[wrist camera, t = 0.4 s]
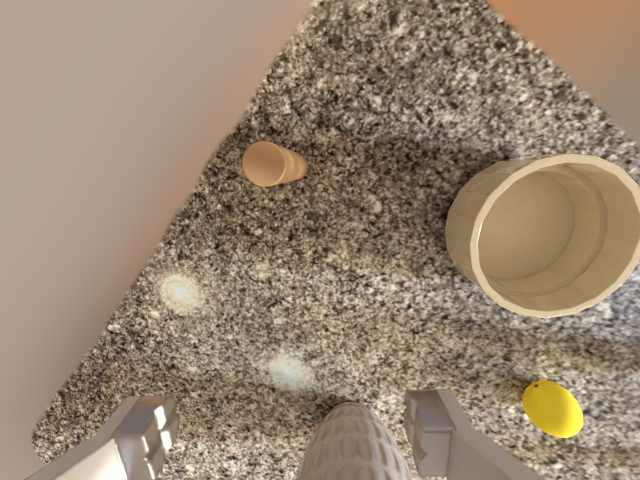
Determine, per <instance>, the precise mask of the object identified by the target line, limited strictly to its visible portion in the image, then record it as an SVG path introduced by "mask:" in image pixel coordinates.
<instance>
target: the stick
mask: <svg viewBox="0 0 640 480" xmlns="http://www.w3.org/2000/svg"><path fill="white" fill-rule="evenodd" d="M242 168H243V171H244V174H245V176H246V177H247V178H248V179H249V180H250V181H251V182H252V183H253V184H255V185H258V186H262V187H268V186H272V185H277V184H281V183H285V182H289V181H294V180H298V179H301V178H303V177H304V176H305V175H306V173H307V171H308V163H307V160H306V159H305V157H304V156H302V155H301V154H298V153H296V152H294V151H291V150H289V149H286V148H284V147H281V146H279V145H276V144H274V143H272V142H269V141H257V142H255V143H253V144H251V145H250V146H249V147H248V148H247V149H246V150H245V152H244V154H243V157H242Z"/></svg>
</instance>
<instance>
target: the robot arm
mask: <svg viewBox="0 0 640 480" xmlns="http://www.w3.org/2000/svg"><path fill="white" fill-rule="evenodd" d="M405 402H406V405H407V407H406V408H405V410H404V422H405V430H406V434H407V438H408V441H409V442H410V443H411V444H412V445H413V458H414V461H415V465H416V468H417V471H418V474H419V476H432V477H447V479H448V480H545V479H543V478H542V477H541V476H539V475H538V474H537V473H535V472H534V471H533V470H531V469H530V468H529V467H527V466H526V465H525V464H523V463H522V462H521V461H519V460H518V459H517V458H515V457H514V456H513V455H511V454H510V453H509V452H507V451H506V450H505V449H503V448H502V447H501V446H499V445H498V444H497V443H495V442H494V441H493V440H491V439H490V438H489V437H487V436H486V435H485V434H483V433H482V432H481V431H476V430H474V429H473V427H472V425H471V423H470V421H469V420H468V418H467V416H466V414H465V412H464V411H463V409H462V407H461V405H460V403H459V402H458V400H457V398H456V396H455V394H454V393H453V391H452V390H451V389H435V390H434V389H429V390H406V392H405ZM175 405H176V404H175V400H174V397H172V396H129V397H127V398H126V399H124V400H123V402H122V403H121V404H120V405H119V407H118V408H117V409H116V410H115V411H114V413H113V414H112V415H111V416H110V418H109V419H108V420H107V421H106V422H105V424H104V425H103V426H102V427H101V429H100V430H99V431H98V432H97V433H96V435H95V436H94V437H93V438H91V439H86V440H85V441H83V442H82V443H80V444H79V445H77V446H76V447H74V448H72V449H71V450H69V451H68V452H66V453H65V454H63V455H62V456H60V457H58V458H57V459H55V460H54V461H52V462H51V463H49V464H48V465H46V466H44V467H43V468H41V469H40V470H38V471H37V472H35V473H34V474H32V475H30V476H29V477H27V478H26V479H24V480H155V479H156V477H157V475H158V473H159V471H160V469H161V467H162V465H163V463H164V462H165V454H164V453H165V452H166V451H167V450H169V449H170V448H171V447H172V446H173V444H174V442H175V440H176V438H177V434H178V430H179V417H178V414H176V413H175V412H174V411H173V409H174V407H175Z"/></svg>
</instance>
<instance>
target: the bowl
mask: <svg viewBox="0 0 640 480" xmlns="http://www.w3.org/2000/svg"><path fill="white" fill-rule="evenodd" d="M445 238H446V246H447V251H448V253H449V255H450V257H451V259H452V261H453V263H454V265H455V267H456V268H457V269H458V270H459V271H460V272H461V273H462V274H463V275H464V276H465V277H466V278H467V279H468V280H469V281H471V282H472V283H473V284H474V285H475V286H477V287H478V288H479V289H480V290H481V291H483V292H484V293H485V294H486V295H487V296H488V297H490V298H491V299H492V300H493V301H494V302H496V303H497V304H498V305H499V306H501V307H503V308H506V309H508V310H510V311H513V312H515V313H517V314H519V315H523V316H532V317H541V318H551V317H557V316H564V315H570V314H575V313H577V312H579V311H581V310H584V309H586V308H588V307H591V306H593V305H595V304H597V303H598V302H601V301H602V300H603V299H605V298H606V297H607V296H608V295H610V294H611V293H612V292H614V291H615V290H616V289H617V288H619V287H620V286H621V285H622V284H623V283H624V281H625V280H626V279H627V277H628V276H629V275H630V274H631V272H632V271H633V270H634V268H635V267H636V266H637V264H638V263H639V260H640V187H639V186H638V185H637V184H636V183H635V181H634V180H633V179H632V178H631V177H630V176H629V175H628V174H627V173H626V172H625V171H624V170H623V169H622V168H621V167H619V166H617V165H615V164H613V163H611V162H609V161H606V160H604V159H602V158H600V157H598V156H592V155H582V154H571V153H564V154H550V155H537V156H523V157H517V158H512V159H508V160H503V161H499V162H497V163H495V164H493V165H491V166H489V167H487V168H486V169H484V170H482V171H480V172H478V173H477V174H476V175H475V176H474V177H473V178H472V179H470V180H469V181H468V182H467V183H466V184H465V185H464V186H463V187H462V188H461V189H460V191H459V193H458V194H457V196H456V198H455V200H454V202H453V204H452V205H451V207H450V209H449V212H448V217H447V222H446V227H445Z"/></svg>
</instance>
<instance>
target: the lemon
mask: <svg viewBox="0 0 640 480" xmlns="http://www.w3.org/2000/svg"><path fill="white" fill-rule="evenodd" d="M522 399H523V407H524V410H525V412H526V414H527V415H528V417H529V419H530V421H531V422H532V423H534V424H535V425H536V426H537V427H538V428H539V429H541V430H542V431H544V432H546V433H548V434H550V435H553V436H555V437H562V438H568V437H570V436H573V435H575V434H577V433H578V432H579V430H580V429H581V428H582V427H583V413H582V411H581V409H580V407H579V404H578V402H577V400H576V399H575V398H574V397H573V396H572V395H571V394H570V393H569V392H568V390H567V389H565V388H563V387H561V386H559V385H558V384H556V383H554V382H550V381H546V380H541V381H538V382H532V383H531V384H530V385H529V386H528V387H527V388H525V391H524V394H523V397H522Z"/></svg>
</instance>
